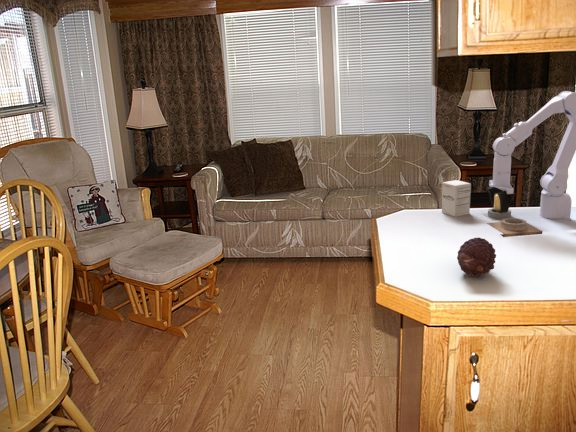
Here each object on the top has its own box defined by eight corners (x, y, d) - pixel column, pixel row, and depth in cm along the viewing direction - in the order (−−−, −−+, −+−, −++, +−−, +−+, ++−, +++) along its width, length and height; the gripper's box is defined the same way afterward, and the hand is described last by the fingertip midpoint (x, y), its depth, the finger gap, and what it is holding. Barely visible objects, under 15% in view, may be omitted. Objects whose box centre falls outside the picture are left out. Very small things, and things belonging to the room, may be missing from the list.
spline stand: (505, 214, 203) (505, 206, 202) (517, 221, 194) (517, 213, 194) (481, 216, 202) (482, 208, 201) (492, 223, 194) (493, 214, 193)
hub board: (522, 223, 192) (522, 214, 191) (542, 234, 179) (542, 225, 179) (486, 225, 191) (486, 217, 190) (503, 237, 178) (504, 228, 178)
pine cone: (458, 260, 160) (460, 227, 157) (495, 263, 156) (497, 230, 154) (454, 283, 144) (455, 247, 141) (494, 287, 140) (497, 250, 138)
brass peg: (502, 214, 200) (503, 192, 198) (507, 217, 196) (508, 195, 194) (491, 215, 200) (492, 193, 198) (496, 218, 196) (497, 196, 194)
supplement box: (440, 215, 207) (441, 182, 203) (456, 212, 210) (457, 179, 206) (454, 219, 200) (455, 185, 197) (470, 216, 203) (471, 182, 200)
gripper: (481, 168, 200) (480, 204, 204) (500, 176, 186) (498, 215, 190) (500, 167, 201) (498, 203, 205) (520, 175, 187) (517, 213, 191)
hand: (499, 209), depth 197 cm, fingers open, 7 cm apart
